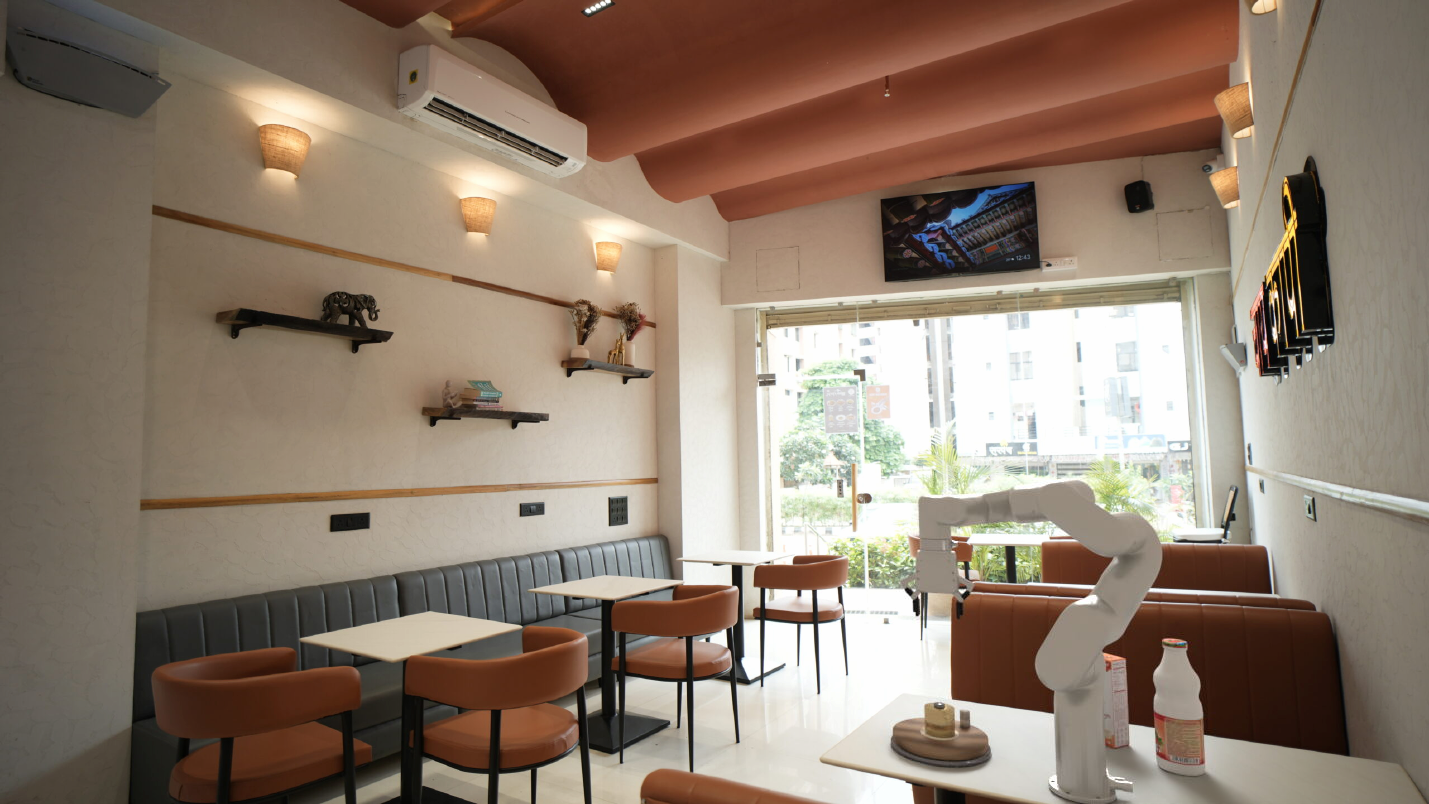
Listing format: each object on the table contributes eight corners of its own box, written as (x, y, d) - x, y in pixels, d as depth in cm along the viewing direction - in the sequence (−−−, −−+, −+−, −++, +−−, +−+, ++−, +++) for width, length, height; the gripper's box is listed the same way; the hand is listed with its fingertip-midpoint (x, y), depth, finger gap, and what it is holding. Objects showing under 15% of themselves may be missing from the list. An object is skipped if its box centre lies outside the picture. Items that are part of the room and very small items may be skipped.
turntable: (892, 722, 192) (891, 700, 193) (982, 729, 187) (981, 706, 188) (893, 755, 171) (892, 730, 171) (994, 763, 166) (994, 737, 166)
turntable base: (993, 738, 185) (993, 734, 185) (987, 774, 164) (987, 769, 164) (899, 725, 194) (899, 721, 194) (882, 757, 173) (882, 753, 173)
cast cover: (961, 733, 178) (960, 704, 179) (943, 740, 174) (942, 710, 175) (936, 725, 184) (936, 697, 185) (918, 731, 180) (918, 702, 180)
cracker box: (1064, 730, 190) (1061, 646, 192) (1080, 726, 193) (1077, 644, 194) (1113, 749, 178) (1110, 660, 179) (1130, 745, 180) (1127, 657, 182)
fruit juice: (1188, 780, 161) (1181, 647, 163) (1146, 764, 169) (1141, 638, 171) (1215, 772, 165) (1208, 643, 167) (1173, 756, 173) (1167, 634, 175)
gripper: (973, 545, 183) (976, 616, 181) (902, 543, 189) (904, 611, 188) (971, 548, 176) (974, 622, 174) (897, 545, 183) (899, 617, 181)
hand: (938, 616), depth 181 cm, fingers open, 9 cm apart
